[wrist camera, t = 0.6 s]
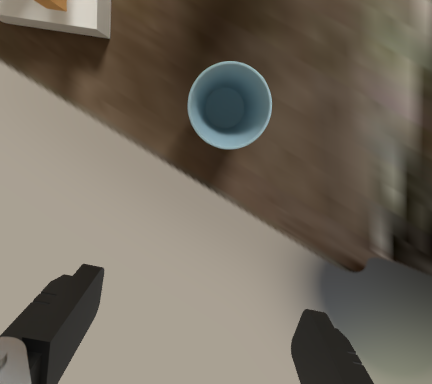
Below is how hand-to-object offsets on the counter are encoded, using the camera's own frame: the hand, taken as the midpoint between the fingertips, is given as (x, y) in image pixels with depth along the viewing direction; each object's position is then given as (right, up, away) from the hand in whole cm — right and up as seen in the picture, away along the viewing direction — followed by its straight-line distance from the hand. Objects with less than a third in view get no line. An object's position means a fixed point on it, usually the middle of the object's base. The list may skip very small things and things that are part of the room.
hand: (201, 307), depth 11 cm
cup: (+2, +15, +25) cm, 29 cm away
